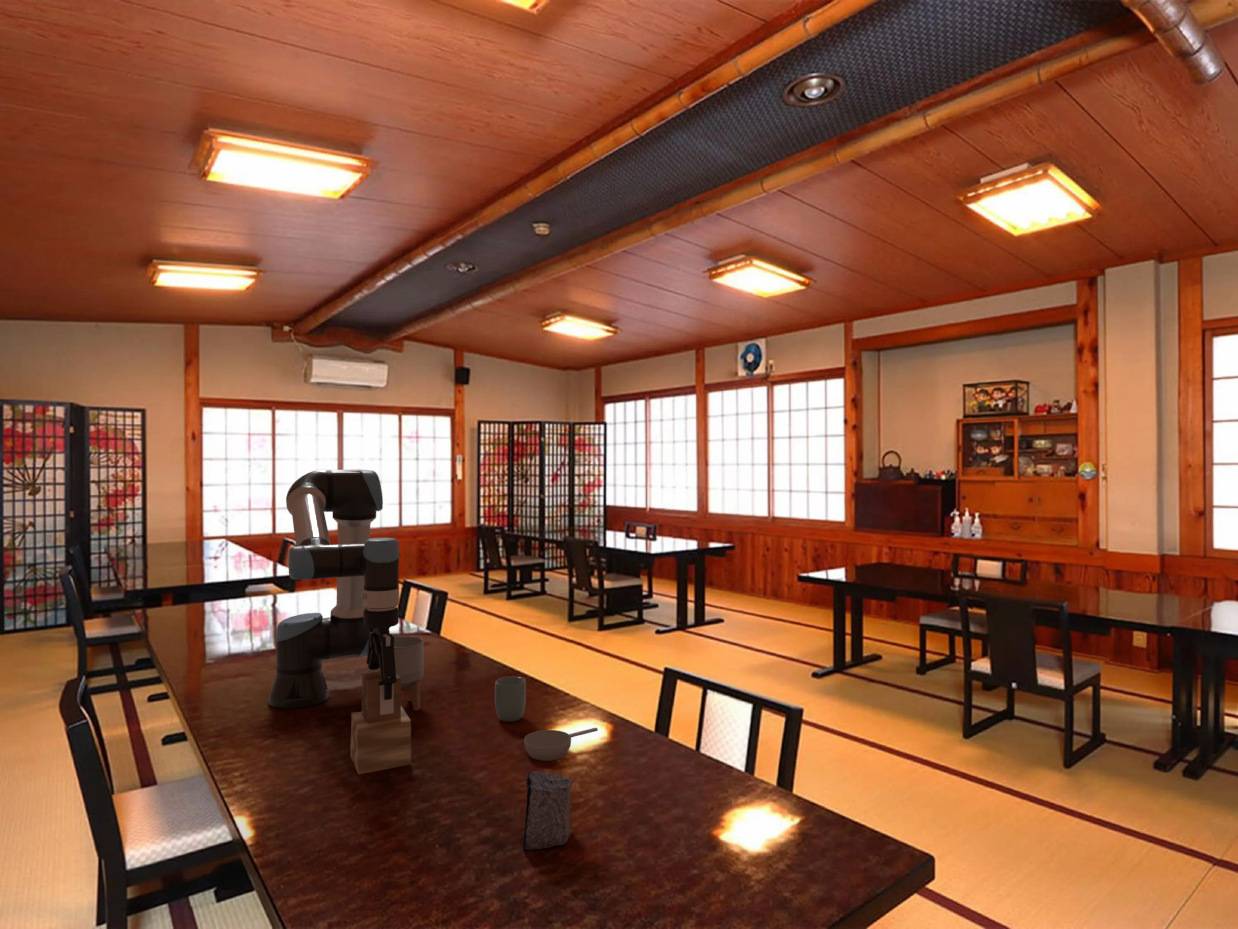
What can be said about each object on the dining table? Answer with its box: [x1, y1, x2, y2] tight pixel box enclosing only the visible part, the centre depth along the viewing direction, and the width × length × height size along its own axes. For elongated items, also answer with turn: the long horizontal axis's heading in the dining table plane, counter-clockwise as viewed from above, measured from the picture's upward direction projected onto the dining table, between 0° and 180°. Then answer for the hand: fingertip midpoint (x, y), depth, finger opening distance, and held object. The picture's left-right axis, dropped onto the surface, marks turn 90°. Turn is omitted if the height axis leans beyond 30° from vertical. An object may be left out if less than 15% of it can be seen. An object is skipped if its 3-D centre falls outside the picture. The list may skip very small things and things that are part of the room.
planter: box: [378, 635, 424, 711], centre depth 197 cm, size 13×13×18 cm
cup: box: [494, 676, 527, 723], centre depth 188 cm, size 8×8×10 cm
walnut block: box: [361, 672, 402, 724], centre depth 162 cm, size 7×7×9 cm
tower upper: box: [350, 705, 412, 752], centre depth 161 cm, size 11×11×5 cm
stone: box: [522, 771, 573, 851], centre depth 128 cm, size 12×10×10 cm
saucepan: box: [523, 727, 599, 762], centre depth 168 cm, size 11×18×4 cm, turn 117°
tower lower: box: [349, 735, 412, 775], centre depth 162 cm, size 11×11×5 cm
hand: (380, 705), depth 162 cm, fingers open, 11 cm apart
